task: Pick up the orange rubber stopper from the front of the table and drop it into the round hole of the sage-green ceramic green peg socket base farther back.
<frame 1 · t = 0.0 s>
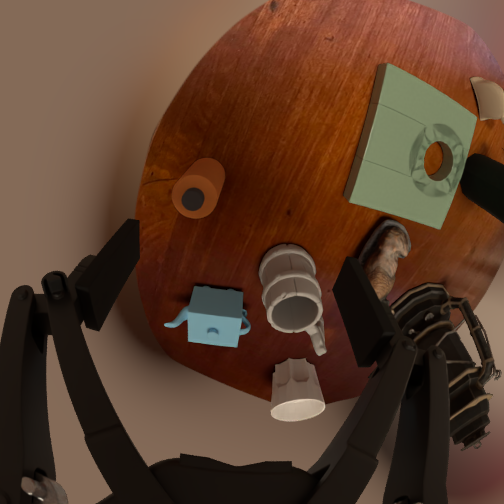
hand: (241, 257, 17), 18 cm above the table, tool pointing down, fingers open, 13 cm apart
lantern: (415, 313, 44), on the table
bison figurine: (374, 251, 37), on the table
green peg socket base: (413, 149, 29), on the table
stopper: (206, 175, 31), on the table
wine bottle: (477, 169, 30), on the table
mug: (293, 273, 39), on the table
cup: (293, 368, 51), on the table
teapot: (211, 298, 42), on the table
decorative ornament: (481, 101, 24), on the table
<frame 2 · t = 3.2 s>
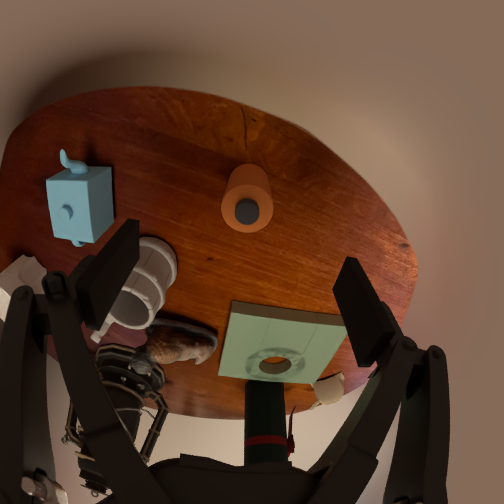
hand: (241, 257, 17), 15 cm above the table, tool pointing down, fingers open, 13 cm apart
lantern: (130, 366, 49), on the table
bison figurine: (182, 328, 42), on the table
green peg socket base: (279, 343, 43), on the table
stopper: (248, 182, 29), on the table
wine bottle: (269, 385, 50), on the table
mug: (143, 266, 36), on the table
cup: (35, 273, 37), on the table
teapot: (96, 184, 29), on the table
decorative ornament: (325, 381, 50), on the table
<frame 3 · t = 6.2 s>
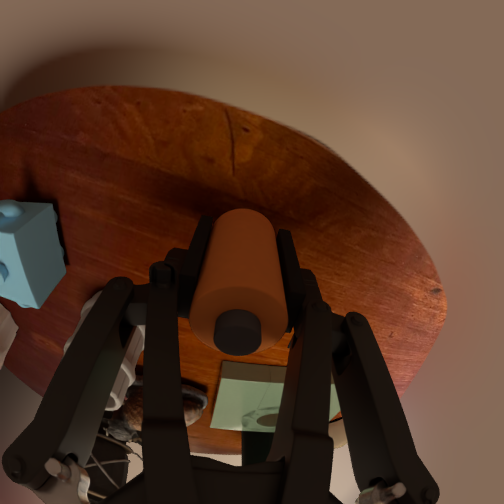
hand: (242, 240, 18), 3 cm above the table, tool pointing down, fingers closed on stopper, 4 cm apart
lantern: (114, 409, 39), on the table
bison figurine: (165, 382, 33), on the table
green peg socket base: (279, 397, 34), on the table
stopper: (242, 238, 19), point 2 cm above the table, touching gripper
wine bottle: (269, 430, 42), on the table
mug: (111, 321, 26), on the table
cup: (1, 314, 27), on the table
teapot: (41, 222, 20), on the table
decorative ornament: (330, 423, 41), on the table
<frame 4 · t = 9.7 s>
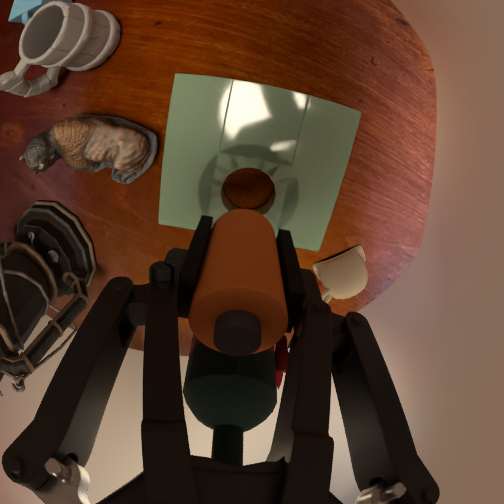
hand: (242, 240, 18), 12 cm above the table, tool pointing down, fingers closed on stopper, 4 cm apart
lantern: (56, 247, 33), on the table
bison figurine: (114, 142, 26), on the table
green peg socket base: (254, 160, 27), on the table
stopper: (242, 238, 18), point 12 cm above the table, touching gripper
wine bottle: (247, 271, 35), on the table
mug: (84, 54, 20), on the table
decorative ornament: (335, 265, 34), on the table
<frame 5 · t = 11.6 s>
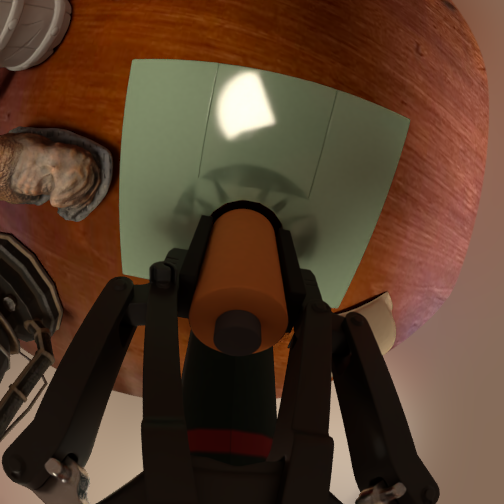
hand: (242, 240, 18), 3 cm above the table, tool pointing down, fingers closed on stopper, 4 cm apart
lantern: (19, 284, 25), on the table
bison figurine: (64, 162, 18), on the table
green peg socket base: (252, 185, 19), on the table
stopper: (242, 238, 19), point 2 cm above the table, touching gripper
wine bottle: (244, 325, 27), on the table
mug: (30, 48, 11), on the table
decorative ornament: (354, 316, 26), on the table
when the fingers open (3 cm above the table, at t = 13.2 s): stopper drops 3 cm, resting in green peg socket base.
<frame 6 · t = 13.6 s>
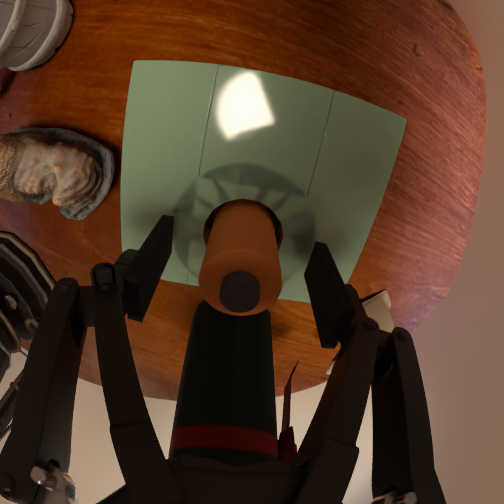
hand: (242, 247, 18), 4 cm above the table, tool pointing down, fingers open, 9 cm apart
lantern: (20, 283, 25), on the table
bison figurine: (65, 161, 18), on the table
green peg socket base: (251, 184, 19), on the table
stopper: (243, 221, 21), resting in green peg socket base
wine bottle: (243, 323, 27), on the table
mug: (31, 49, 12), on the table
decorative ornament: (353, 314, 26), on the table
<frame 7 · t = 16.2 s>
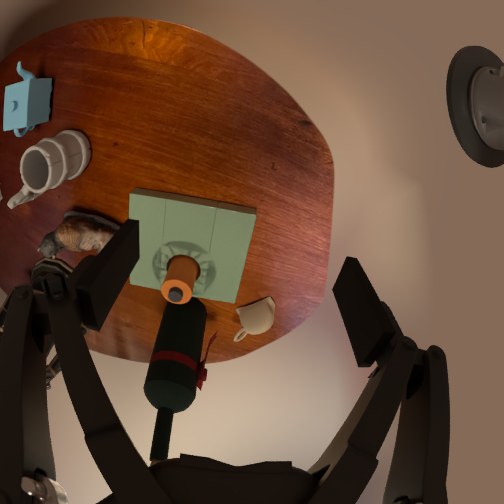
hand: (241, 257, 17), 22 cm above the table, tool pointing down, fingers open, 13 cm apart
lantern: (62, 287, 46), on the table
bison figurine: (97, 227, 40), on the table
green peg socket base: (187, 245, 42), on the table
stopper: (186, 260, 43), resting in green peg socket base
wine bottle: (192, 311, 49), on the table
mug: (67, 160, 33), on the table
teapot: (41, 95, 27), on the table
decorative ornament: (253, 309, 49), on the table
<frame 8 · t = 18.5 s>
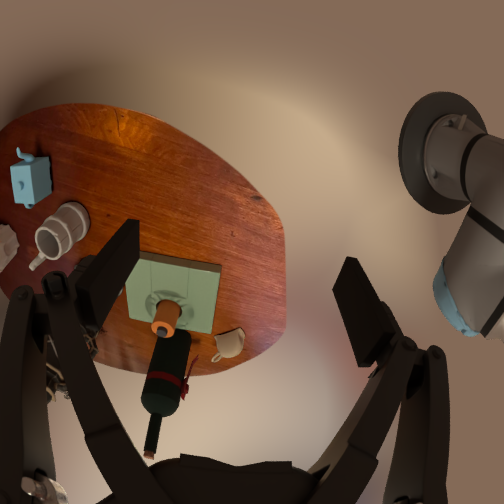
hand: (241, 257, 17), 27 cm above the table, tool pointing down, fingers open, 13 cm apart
lantern: (75, 316, 57), on the table
green peg socket base: (171, 290, 52), on the table
stopper: (171, 301, 53), resting in green peg socket base
wine bottle: (180, 336, 59), on the table
mug: (71, 224, 44), on the table
cup: (9, 238, 45), on the table
teapot: (42, 168, 38), on the table
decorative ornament: (228, 336, 59), on the table
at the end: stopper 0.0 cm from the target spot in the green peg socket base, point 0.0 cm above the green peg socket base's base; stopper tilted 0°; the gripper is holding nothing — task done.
